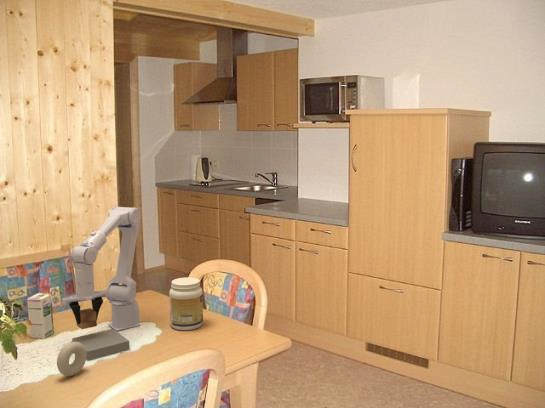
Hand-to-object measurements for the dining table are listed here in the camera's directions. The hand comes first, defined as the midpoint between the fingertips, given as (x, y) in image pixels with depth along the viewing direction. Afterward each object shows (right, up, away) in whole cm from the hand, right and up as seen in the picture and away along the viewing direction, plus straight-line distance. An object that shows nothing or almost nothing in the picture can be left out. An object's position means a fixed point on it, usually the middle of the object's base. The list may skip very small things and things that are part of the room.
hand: (86, 321), depth 185 cm
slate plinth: (+5, -9, -1) cm, 10 cm away
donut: (+3, -12, -21) cm, 24 cm away
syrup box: (-19, -7, +10) cm, 23 cm away
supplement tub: (+30, -6, +20) cm, 37 cm away
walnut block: (0, -2, 0) cm, 2 cm away
